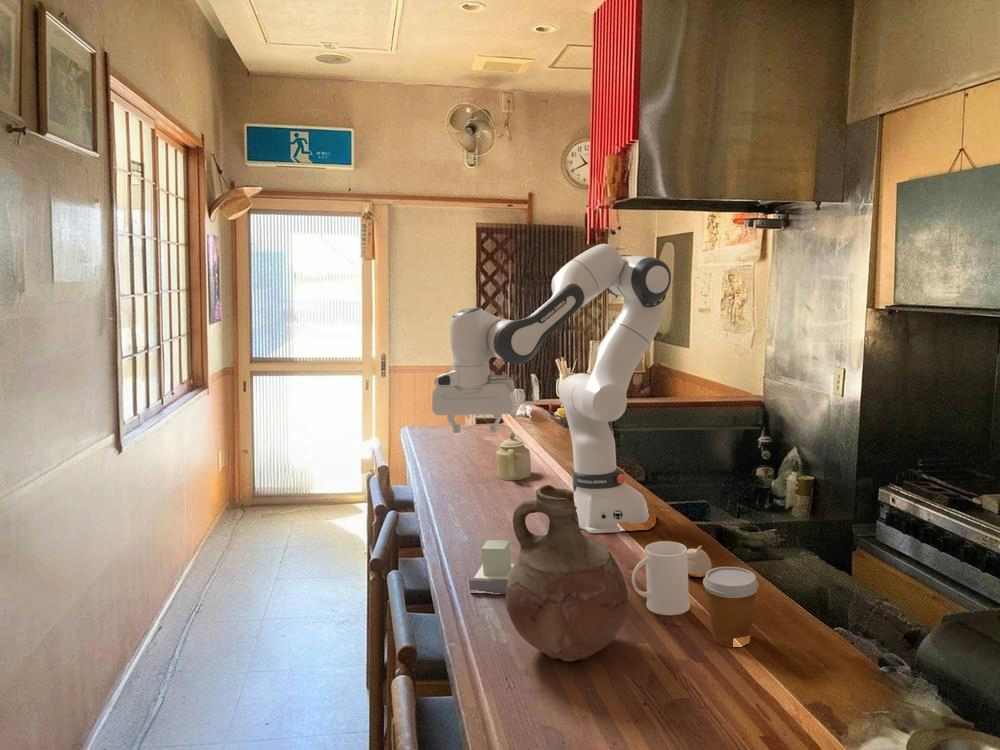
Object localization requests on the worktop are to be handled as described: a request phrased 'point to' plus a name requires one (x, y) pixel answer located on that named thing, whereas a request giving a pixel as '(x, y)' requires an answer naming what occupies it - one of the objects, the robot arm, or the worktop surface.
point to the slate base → (489, 581)
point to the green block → (496, 557)
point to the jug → (563, 582)
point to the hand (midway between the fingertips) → (475, 432)
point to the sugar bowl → (513, 460)
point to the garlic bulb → (698, 561)
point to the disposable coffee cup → (730, 602)
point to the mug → (665, 578)
